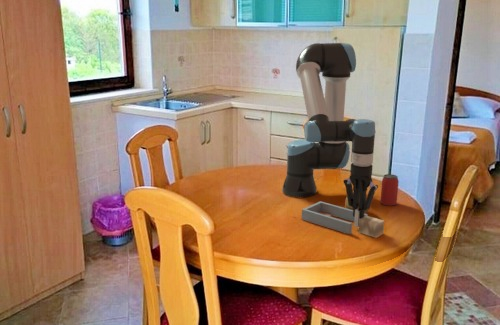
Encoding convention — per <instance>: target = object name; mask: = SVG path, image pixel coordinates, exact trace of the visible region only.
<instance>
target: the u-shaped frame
mask: <svg viewBox="0 0 500 325" xmlns="http://www.w3.org/2000/svg"><path fill="white" fill-rule="evenodd" d="M365 216H369V215H368V213H365V214H364V217H365ZM339 218H340V219H339ZM301 220H303V221H306V222H308V223H311V224H315V225H319V226H322V227H325V228H328V229H330V230H331V229H332V230H335V231H337V232H341V233H343V234H347V235H351V234H352V230H353V228H352V227H353V223H354V220H355V217H353V210H350V209H347V208H346V207H343V206H339V205H335V204H332V203H328V202H325V201H321V200H319V201H318V202H316V203H313V204H311V205H309V206H306V207H304V208H302V209H301ZM346 220H347V221H346ZM352 222H353V223H352Z"/></svg>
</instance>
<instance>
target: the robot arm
mask: <svg viewBox="0 0 500 325" xmlns="http://www.w3.org/2000/svg"><path fill="white" fill-rule="evenodd" d="M356 67H357V56H356V52H355V49H354V47H353V45H352V44H350V43H346V42H345V43H342V42H330V43H329V42H328V43H327V42H326V43H325V42H323V43H320V42H316V43H311V44H309V45H307V46H306V47H305V48H304V49H302V50H301V52H300V54H299V56H298V57H297V59H296V64H295V72H296V75H297V77H298V79H300V83H301V89H302V95H303V100H304V105H305V108H306V109H305V110H306V115H307V120H308V121H306V122H305V123H304V128H303V131H304V132H303V133H304V138H300V139H296V140H293V141H291V142H290V143H288V145H287V149H286V150H287V152H286V156H287V158H286V176H285V178H284V183H283V185H282V193H283V194H284V195H286V196H289V197H293V198H308V197H312V196H315V195H316V194H317V190H318V189H317V185H316V181H315V178H314V170H337V169H345V167H346V166H347V165H348V163H349V160H350V153H351V160H350V162H351V163H350V171H349V172H350V175H349V177H348V178H346V179H344V180H343V185H344V186H345V190H346V197H347V198H348V205H349V206H351V207H353V217H355V220H354V222H353V223H354V224H353V226H354V227H355V228H359V220H360V219H361V218H363V217H364V211H365V210H367V209H369V210H370V208H371V205H372V204H373V199H374V195H375V193H376V190H378V188H379V185H378V184H375V183H373V179H372V175H373V163H374V151H375V149H374V148H375V136H376V122H375V121H374V120H372V119H367V118H359V119H355V118H349V119H346V120H344V118H345V117H344V116H345V104H346V90H347V81H348V80H349V79H350V78H351V73H353V72H355V71H356ZM320 74H321V77H322V78H323V79H324V81H325V83H324V84H325V86H324V90H323V87H322V82H321V77H320ZM349 142H351V151H350V145H349V144H350V143H349ZM368 188H369V190H368ZM367 191H368V193H367ZM353 192H354V193H353ZM366 197H367V199H366ZM359 199H360V200H359ZM358 207H359V208H358Z"/></svg>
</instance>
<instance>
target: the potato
mask: <svg viewBox="0 0 500 325" xmlns="http://www.w3.org/2000/svg"><path fill="white" fill-rule="evenodd" d="M353 193H354V191H353ZM366 199H367V196H366ZM359 200H360V199H359ZM344 204H345V205H344V206H345V208H347V209H350V210H353V207H351V206H349V205H348V198H347V196H346V198H345V202H344ZM358 208H359V207H358ZM369 210H370V208H369V209H367V210H365V211H364V214H368V213H369Z"/></svg>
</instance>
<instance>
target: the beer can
mask: <svg viewBox="0 0 500 325" xmlns="http://www.w3.org/2000/svg"><path fill="white" fill-rule="evenodd" d="M380 190H381V192H380V204H382V205H384V206H386V207H387V206H388V207H391V206H392V207H393V206H396V204H397V203H398V193H399V192H398V190H399V179H398V175H396V174H392V173H389V174H388V173H387V174H383V178H382V180H381V189H380Z"/></svg>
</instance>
